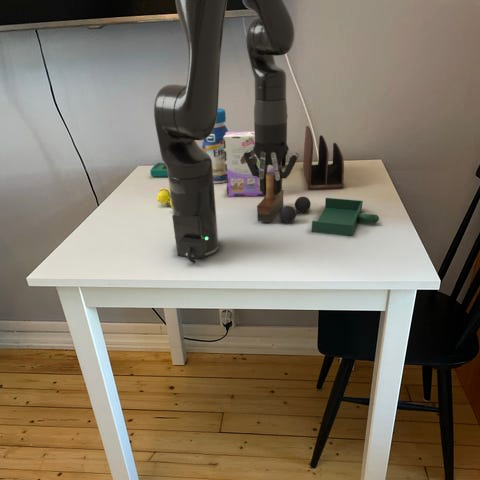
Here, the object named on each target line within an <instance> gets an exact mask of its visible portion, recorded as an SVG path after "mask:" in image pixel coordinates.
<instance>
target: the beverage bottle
mask: <svg viewBox="0 0 480 480" xmlns="http://www.w3.org/2000/svg"><path fill="white" fill-rule="evenodd" d="M226 116H227V115H226V110H225V109H224V108H222V107H221V108H219V107H218V112H217V118H216V123H215V126H214V129H213V131H212V133H211V134H210V135H209V136H208V137H207V138H206V139H204V140H202V141H201V149H202V150H203V151H204V152H206V153H207V154H208V155H209V156H210V157H211V160H212V168H213V180H214V184H223V183H226V170H225V156H224V142H223V137H224V135H225V133H226V132H229V130H228V127H226V125H225V123H226V119H227V117H226Z"/></svg>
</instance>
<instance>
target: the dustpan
mask: <svg viewBox="0 0 480 480" xmlns="http://www.w3.org/2000/svg"><path fill="white" fill-rule="evenodd" d="M363 203H364V200H358V199H346V198H333V197H325V203H324V208H323V210H322V212H321V214H320V216H319V217H318V219H317V220H312V221H311V232H312V233H319V234H328V235H329V234H330V235H338V236H348V237H350V236H353V234H354V231H355V229H356V226H357V224H358V223H368V224H377V223H378V222H379V221H380V216H379V215H378V214H373V213H362V210H363V205H364V204H363Z"/></svg>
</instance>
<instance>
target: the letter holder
mask: <svg viewBox="0 0 480 480" xmlns="http://www.w3.org/2000/svg"><path fill="white" fill-rule="evenodd" d="M304 133H305V134H304V144H303V145H304V146H303V147H304V148H303V163H302V169H303V173H304V176H305V181H306V186H307V189H308V190H309V191H311V190H329V189H331V190H332V189H333V190H334V189H343V188H344V173H345V172H344V171H345V170H344V169H345V161H344V160H345V159H344V156H343V153H342V151H341V149H340V147H339V145H338V144H337V142H333V144H332V163H329V159H330V158H329V157H330V156H329V155H330V154H329V153H330V152H329V148H328V144H327V142H326V139H325V138H324V136H323V135H322V134H320V135H319V137H318V155H317V157H318V158H317V164H313V158H314V157H313V155H314V138H313V133H312V130H311V128H310V126H308V125H307V126H305V132H304Z"/></svg>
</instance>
